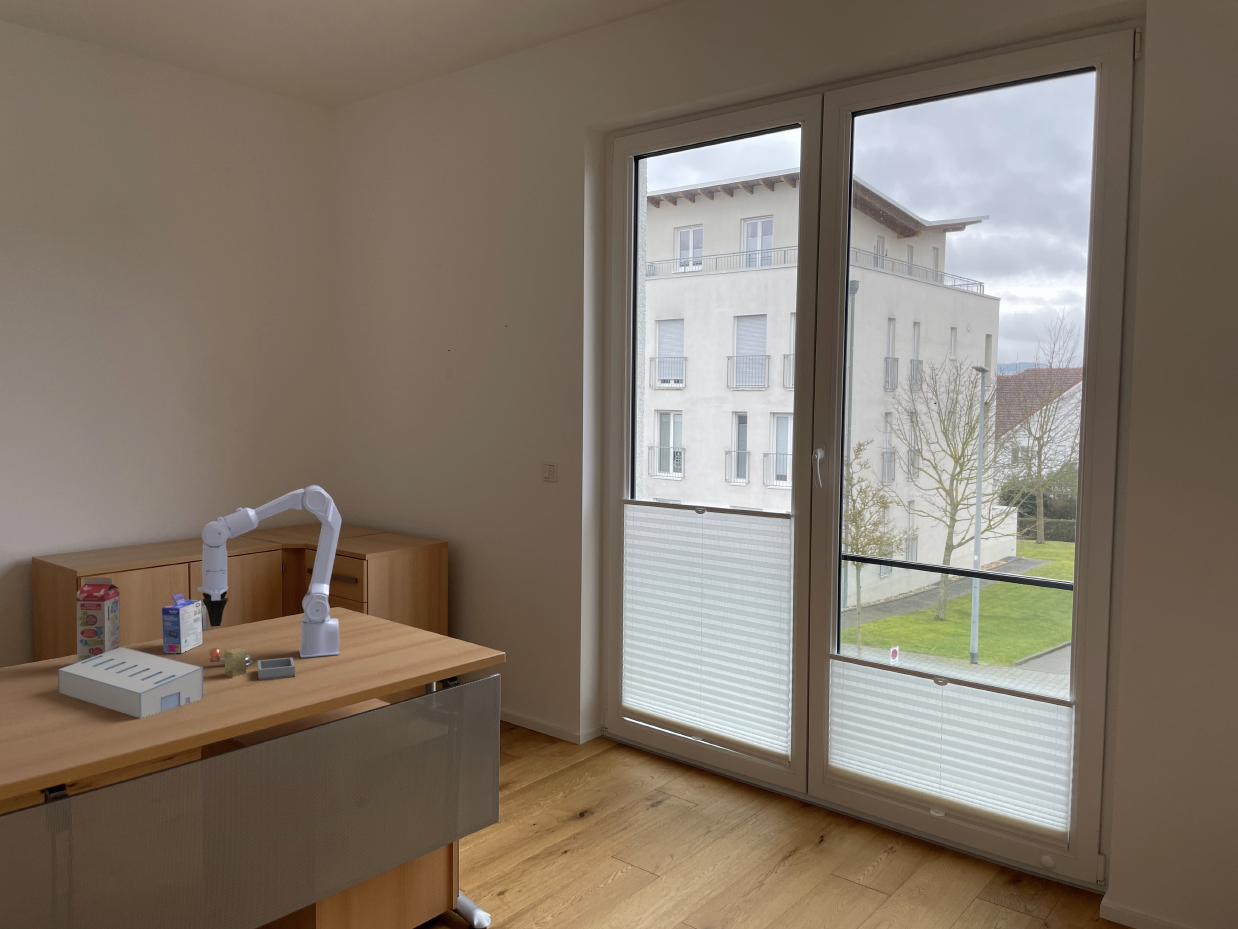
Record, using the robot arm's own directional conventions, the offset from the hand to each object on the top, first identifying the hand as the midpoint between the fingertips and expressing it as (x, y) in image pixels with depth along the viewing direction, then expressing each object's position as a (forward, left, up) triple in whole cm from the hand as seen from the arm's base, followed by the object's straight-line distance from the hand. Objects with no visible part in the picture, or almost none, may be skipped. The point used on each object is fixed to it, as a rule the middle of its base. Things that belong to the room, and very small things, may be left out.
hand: (215, 623), depth 218 cm
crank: (-3, +4, -9) cm, 11 cm away
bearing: (-6, +5, -10) cm, 12 cm away
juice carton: (+26, -5, -10) cm, 28 cm away
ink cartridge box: (+8, -15, -10) cm, 20 cm away
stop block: (-4, +13, -10) cm, 17 cm away
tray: (-13, +16, -10) cm, 23 cm away
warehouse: (+17, +22, -10) cm, 29 cm away
